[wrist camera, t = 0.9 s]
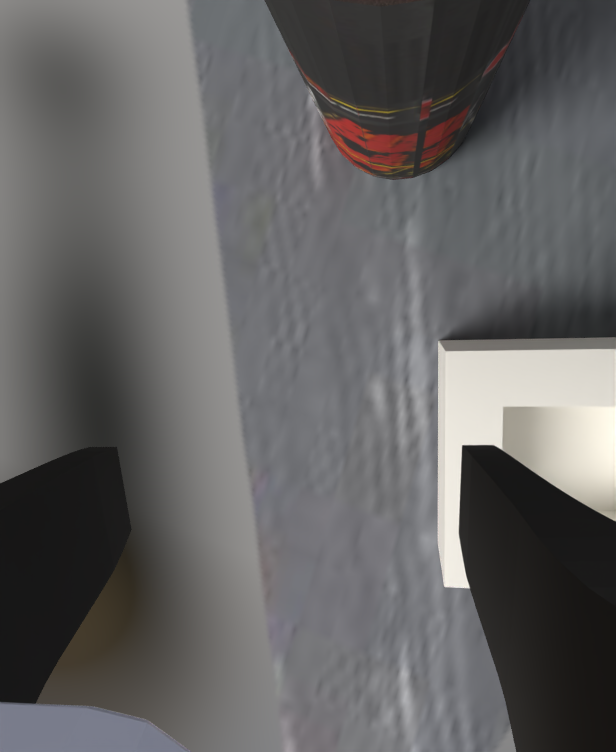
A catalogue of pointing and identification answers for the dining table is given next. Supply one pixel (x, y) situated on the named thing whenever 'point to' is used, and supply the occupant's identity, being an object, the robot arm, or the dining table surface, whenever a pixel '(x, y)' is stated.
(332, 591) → the dining table surface
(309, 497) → the dining table surface
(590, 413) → the block
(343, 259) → the dining table surface
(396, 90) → the deodorant
